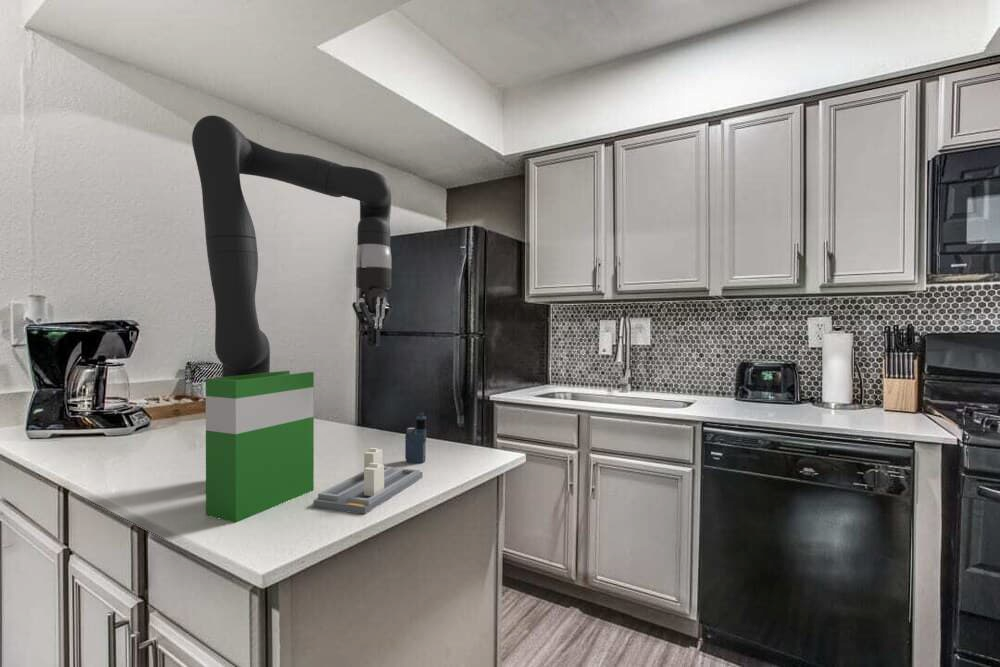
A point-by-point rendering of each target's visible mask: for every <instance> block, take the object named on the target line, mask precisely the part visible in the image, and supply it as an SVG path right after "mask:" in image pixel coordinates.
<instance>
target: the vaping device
mask: <svg viewBox="0 0 1000 667" xmlns="http://www.w3.org/2000/svg"><path fill="white" fill-rule="evenodd" d="M415 418H416V419H415V420H416V423H415V425H416V427H407V429H406V430H407V431H406V433H405V441H404V442H405V444H404V445H405V446H404V447H405V452H404V454H405V455H404V456H405V457H404V458H405V462H406V463H411V464H412V463H414V464H424V463H425V462H426V442H427V416H425V415H424V412H419V413H418V415H417V416H416V417H415Z"/></svg>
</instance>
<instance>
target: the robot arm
mask: <svg viewBox="0 0 1000 667" xmlns="http://www.w3.org/2000/svg"><path fill="white" fill-rule="evenodd" d="M191 142H192V148H193V153H194V157H195V162H196V166H197V171H198V175H199V180H200V188H201V196H202V206H203V207H202V209H203V220H204V231H205V235H204V236H205V245H206V254H207V260H208V262H207V263H208V267H209V276H210V280H211V281H210V282H211V287H212V291H213V292H212V293H213V298H214V305H215V306H214V307H215V309H214V310H215V326H214V327H215V332H214V333H215V334H214V337H215V338H214V351H215V354H216V357H217V359H218V361H219V363H221V364H222V377H229V376H239V375H249V374H259V373H269V372H271V371H270V368H271V367H270V365H271V359H270V358H271V347H270V341H269V338H268V337H267V335H266V334H265V332H263V331H262V330H261V329H260V325H259V321H258V314H257V308H256V306H257V305H256V291H257V290H256V289H257V281H258V273H259V272H258V271H259V256H258V253H259V252H258V246H257V245H258V243H257V235H256V230H255V226H254V222H253V220H252V216H251V214H250V211H249V208H248V205H247V203H246V200H245V199H246V198H245V197H244V194H243V190H242V185H241V176H240V175H249V176H255V177H260V178H261V177H262V178H266V179H271V180H276V181H279V182H283V183H287V184H290V185H294V186H297V187H299V188H303V189H305V190H308V191H309V190H310V191H312V192H315V193H318V194H322V195H325V196H329V197H334V198H342V197H346V198H349V199H352V200H357V201H359V222H358V224H357V230H356V231H357V233H356V234H357V243H356V244H357V246H356V247H357V249H356V253H355V268H356V269H355V287H356V288H357V289H360V291H359V295H358V296H359V300H358V301H354V302H352V308H353V311H354V313H355V315H356V317H357V319H358V322H359V324H360V326H362V327H365V329H366V330H367V339H366V341H367V345H368V347H379V346H380V345H381V330H382V328H383V327H386V326H387V324H388V322H389V319H390V316H391V315H392V312H393V310H394V304H389V302H388V294H387V290H390V289H392V252H391V225H390V222H391V210H392V192H391V188H390V184H389V182H388V179H387V178H386V177H385V176H384V175H382V174H381V173H379V172H377V171H374V170H371V169H368V168H362V167H357V166H356V167H355V166H346V165H342V164H339V163H336V162H333V161H330V160H326V159H323V158H319V157H317V156H314V155H308V154H304V153H303V154H301V153H293V152H285V151H284V152H283V151H280V150H275V149H271V148H269V147H266V146H263V145H262V144H259V143H257V142H255V141H253V140H252V139H249V138H247V137H246V135H244V134H243V133H242V132H241V130H239V128H238V127H237V126H236V125H234V124H233V123H232V122H230V121H229V120H227V119H226V118H224V117H221V116H220V115H219V116H218V115H215V114H213V115H206V116H204V117H201V119H199V120H198V121H197V123H195V125H194V127H193V131H192V134H191Z"/></svg>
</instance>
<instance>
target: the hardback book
mask: <svg viewBox="0 0 1000 667" xmlns="http://www.w3.org/2000/svg"><path fill="white" fill-rule="evenodd" d="M314 373H315V372H314V371H308V372H307V371H306V372H298V373H290V370H280V371H279V370H278V371H272V372H271V371H270V372H269V373H259V374H249V375H239V376H229V377H221V376H220V377H219V376H218V377H213V378H212V377H211V378H209V377H208V378H205V516H206V515H207V516H206V517H209V516H212V517H211V518H213V517H216V518H215V519H218V518H220V519H219V520H222V519H223V521H226V520H227V522H232V523H238V522H241V521H244V520H245V519H248V518H250V517H253V516H256V515H257V514H260V513H262V512H266V511H267V510H270V509H273V508H274V507H278V506H279V504H280V505H282V504H284V502H285V503H287V502H289V501H291V499H292V500H293V498H294V499H296V497H297V498H299V497H302V496H303V494H304V495H306V494H309V493H311V492H313V490H314V489H315V488H314V485H315V483H314V482H315V481H314V478H315V477H314V476H315V475H314V469H315V468H314V467H315V466H314V464H315V463H314V461H315V460H314V452H315V450H314V447H315V446H314V444H315V443H314V442H315V441H314V440H315V439H314V438H315V437H314V434H315V433H314V428H315V427H314V422H315V421H314V420H315V419H314V418H315V416H314V415H315V414H314V412H315V411H314V410H315V407H314V405H315V404H314V399H315V398H314V394H315V393H314V392H315V391H314V390H315V387H314V386H315V384H314V383H315V381H314V379H315V376H314V375H315V374H314ZM310 491H311V492H310ZM314 491H315V490H314ZM308 492H309V493H308ZM305 493H306V494H305ZM298 496H299V497H298ZM288 500H289V501H288ZM286 501H287V502H286ZM281 503H282V504H281ZM272 507H273V508H272Z"/></svg>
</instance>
